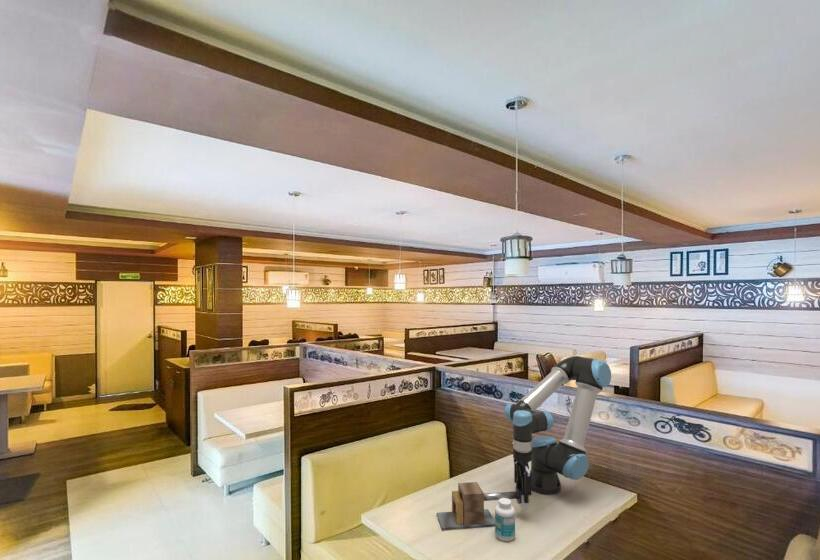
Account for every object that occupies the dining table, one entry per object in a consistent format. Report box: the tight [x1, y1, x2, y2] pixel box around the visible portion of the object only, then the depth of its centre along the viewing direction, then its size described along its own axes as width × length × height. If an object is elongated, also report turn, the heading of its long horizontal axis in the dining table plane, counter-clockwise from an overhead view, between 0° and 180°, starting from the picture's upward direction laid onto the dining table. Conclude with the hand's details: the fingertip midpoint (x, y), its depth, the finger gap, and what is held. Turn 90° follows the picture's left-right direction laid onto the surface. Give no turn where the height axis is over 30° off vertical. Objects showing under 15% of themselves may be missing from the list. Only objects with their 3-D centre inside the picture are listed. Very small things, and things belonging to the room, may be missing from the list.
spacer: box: [451, 490, 463, 525], centre depth 169 cm, size 2×9×9 cm, turn 7°
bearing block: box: [436, 481, 495, 531], centre depth 169 cm, size 22×11×13 cm, turn 97°
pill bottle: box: [494, 498, 516, 542], centre depth 159 cm, size 8×7×14 cm
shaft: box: [483, 485, 523, 505], centre depth 171 cm, size 23×4×5 cm, turn 97°
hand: (522, 506), depth 172 cm, fingers closed on shaft, 4 cm apart
